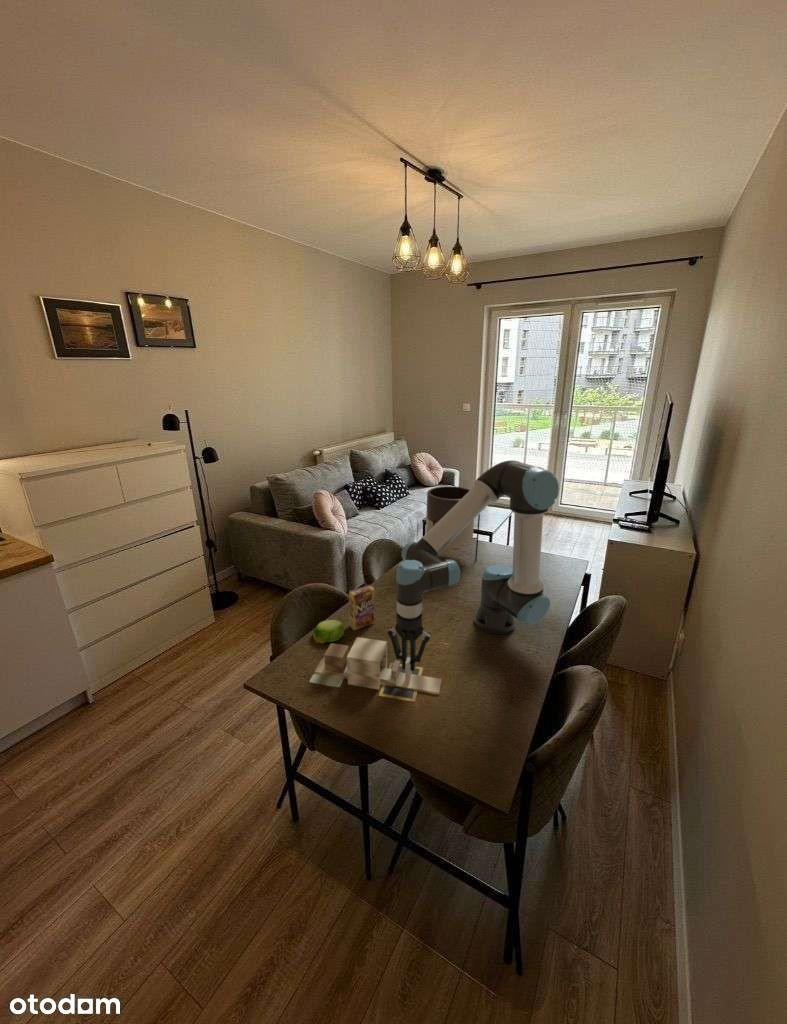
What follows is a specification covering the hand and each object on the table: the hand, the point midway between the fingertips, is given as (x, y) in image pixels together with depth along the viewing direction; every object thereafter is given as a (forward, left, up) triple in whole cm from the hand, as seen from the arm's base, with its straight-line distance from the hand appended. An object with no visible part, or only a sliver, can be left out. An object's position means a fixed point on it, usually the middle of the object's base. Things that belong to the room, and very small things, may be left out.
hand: (408, 677), depth 129 cm
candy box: (+23, -26, -2) cm, 35 cm away
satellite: (+10, 0, -2) cm, 10 cm away
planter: (-3, -90, -2) cm, 90 cm away
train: (+15, 0, -1) cm, 15 cm away
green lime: (+33, -17, -2) cm, 37 cm away
